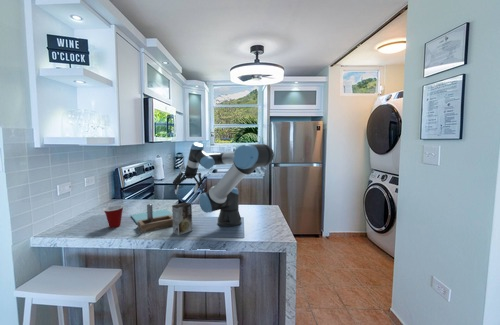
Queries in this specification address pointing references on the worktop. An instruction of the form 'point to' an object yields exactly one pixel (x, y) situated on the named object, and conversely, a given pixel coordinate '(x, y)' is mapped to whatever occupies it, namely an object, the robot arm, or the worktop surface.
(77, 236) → the worktop surface
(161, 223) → the walnut link
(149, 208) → the metal post
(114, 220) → the plastic cup
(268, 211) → the worktop surface
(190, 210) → the coffee box
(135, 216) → the teal pad
